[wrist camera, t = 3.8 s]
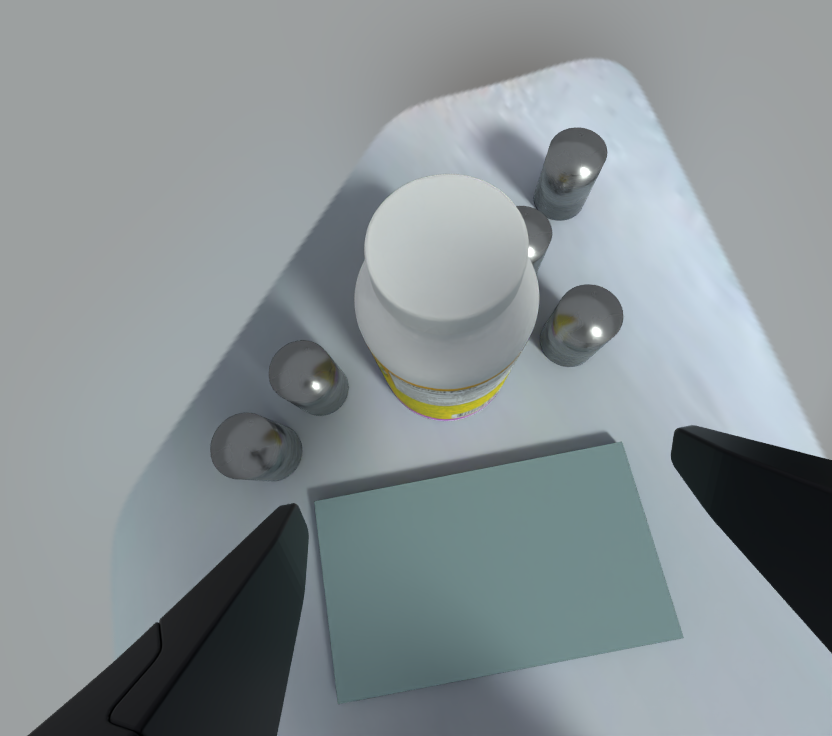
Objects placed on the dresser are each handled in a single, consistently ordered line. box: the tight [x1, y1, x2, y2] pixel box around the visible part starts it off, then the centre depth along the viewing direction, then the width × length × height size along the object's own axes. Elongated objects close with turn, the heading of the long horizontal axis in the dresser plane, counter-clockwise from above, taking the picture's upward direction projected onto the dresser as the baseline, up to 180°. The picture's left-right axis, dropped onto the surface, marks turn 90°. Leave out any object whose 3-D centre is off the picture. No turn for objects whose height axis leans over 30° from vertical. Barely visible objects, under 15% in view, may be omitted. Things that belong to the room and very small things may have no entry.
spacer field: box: [210, 128, 623, 481], centre depth 24 cm, size 15×22×4 cm
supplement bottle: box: [354, 174, 539, 421], centre depth 18 cm, size 7×7×13 cm
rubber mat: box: [314, 442, 684, 704], centre depth 22 cm, size 9×16×1 cm, turn 101°
